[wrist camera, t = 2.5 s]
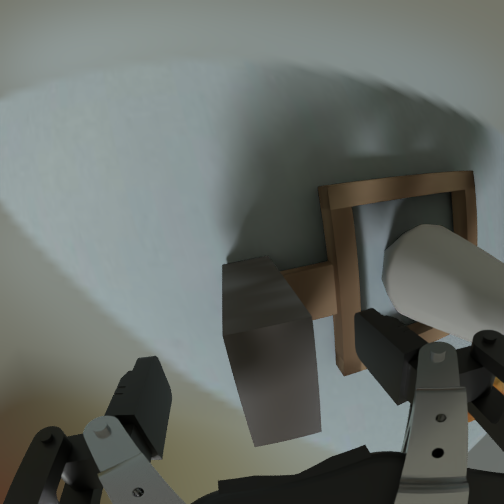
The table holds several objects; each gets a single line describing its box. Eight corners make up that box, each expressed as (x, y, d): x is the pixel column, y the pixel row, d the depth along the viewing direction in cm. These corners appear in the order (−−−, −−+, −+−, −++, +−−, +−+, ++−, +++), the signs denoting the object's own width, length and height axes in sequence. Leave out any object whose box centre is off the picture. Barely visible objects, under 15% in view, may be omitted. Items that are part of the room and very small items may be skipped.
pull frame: (458, 170, 16) (547, 172, 8) (459, 316, 18) (526, 358, 10) (210, 205, 15) (195, 218, 7) (250, 385, 17) (267, 484, 9)
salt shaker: (383, 208, 16) (586, 250, 3) (444, 231, 17) (601, 278, 4) (358, 299, 17) (510, 433, 4) (421, 309, 18) (554, 402, 5)
